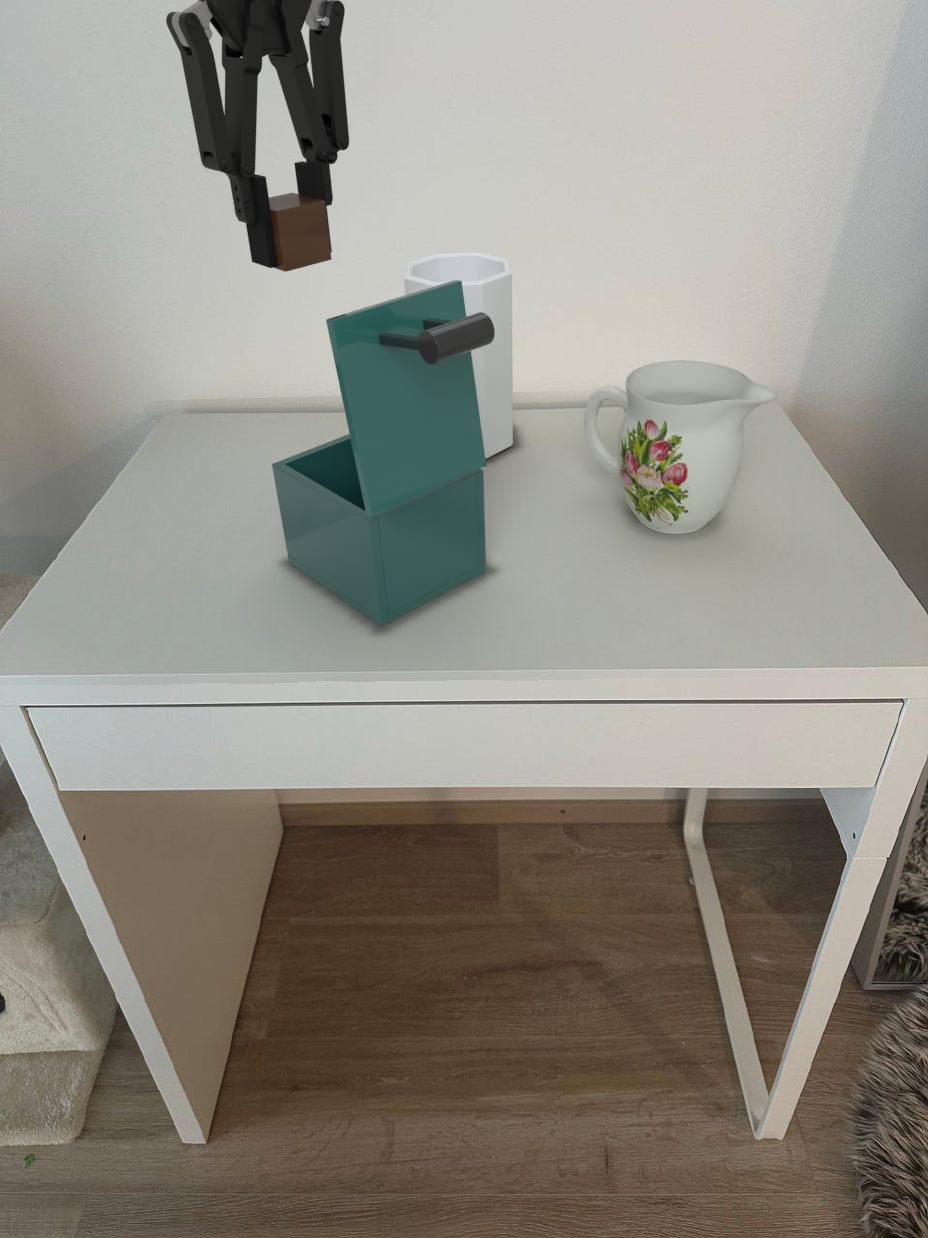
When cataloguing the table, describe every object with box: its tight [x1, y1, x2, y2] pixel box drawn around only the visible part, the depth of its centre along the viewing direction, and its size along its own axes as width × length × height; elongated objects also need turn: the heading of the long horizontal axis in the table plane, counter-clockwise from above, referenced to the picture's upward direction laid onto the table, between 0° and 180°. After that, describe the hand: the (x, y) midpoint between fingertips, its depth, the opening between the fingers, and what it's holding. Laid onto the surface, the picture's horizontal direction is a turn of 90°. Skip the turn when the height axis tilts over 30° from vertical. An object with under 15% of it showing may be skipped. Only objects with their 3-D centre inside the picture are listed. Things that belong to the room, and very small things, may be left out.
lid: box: [325, 280, 495, 517], centre depth 67 cm, size 14×12×8 cm
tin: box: [271, 433, 487, 627], centre depth 80 cm, size 14×12×10 cm
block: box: [269, 192, 332, 273], centre depth 75 cm, size 4×4×4 cm
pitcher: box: [583, 359, 779, 535], centre depth 84 cm, size 11×18×14 cm, turn 51°
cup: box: [403, 251, 514, 460], centre depth 97 cm, size 11×11×18 cm
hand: (292, 256), depth 76 cm, fingers closed on block, 4 cm apart
